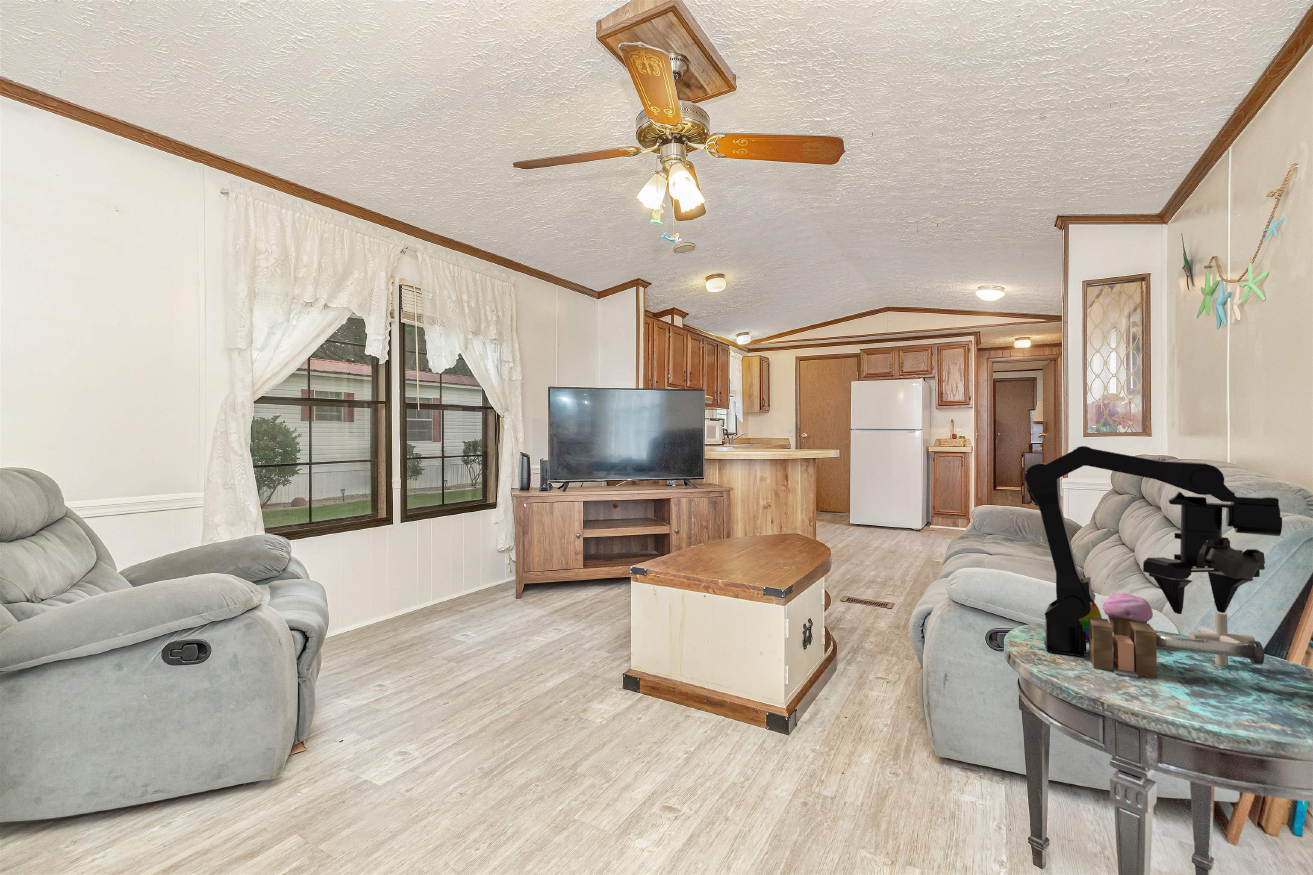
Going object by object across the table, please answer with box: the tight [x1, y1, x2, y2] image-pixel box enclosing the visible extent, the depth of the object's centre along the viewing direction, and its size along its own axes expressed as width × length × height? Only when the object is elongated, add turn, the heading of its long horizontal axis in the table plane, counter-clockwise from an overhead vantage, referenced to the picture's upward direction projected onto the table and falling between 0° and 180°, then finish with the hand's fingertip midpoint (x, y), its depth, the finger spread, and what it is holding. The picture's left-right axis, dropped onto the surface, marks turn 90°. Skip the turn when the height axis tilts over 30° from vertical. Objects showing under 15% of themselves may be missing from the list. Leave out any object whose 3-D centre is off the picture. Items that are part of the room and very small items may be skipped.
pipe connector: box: [1188, 611, 1256, 667], centre depth 116 cm, size 10×10×10 cm
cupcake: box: [1102, 592, 1154, 638], centre depth 131 cm, size 9×9×10 cm
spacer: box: [1113, 634, 1134, 672], centre depth 115 cm, size 2×5×5 cm, turn 151°
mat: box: [1112, 660, 1139, 679], centre depth 115 cm, size 3×10×1 cm, turn 151°
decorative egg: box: [1079, 601, 1103, 642], centre depth 133 cm, size 8×8×10 cm
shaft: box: [1156, 633, 1265, 666], centre depth 110 cm, size 17×4×4 cm, turn 61°
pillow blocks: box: [1088, 617, 1158, 678], centre depth 115 cm, size 10×6×8 cm, turn 61°
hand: (1199, 612), depth 111 cm, fingers open, 9 cm apart
